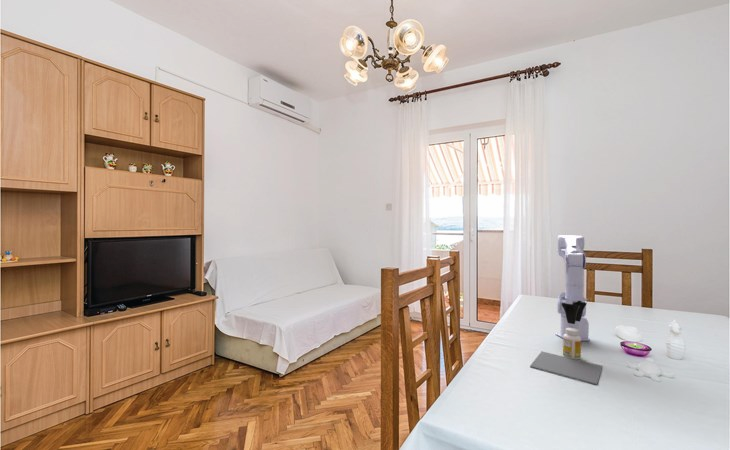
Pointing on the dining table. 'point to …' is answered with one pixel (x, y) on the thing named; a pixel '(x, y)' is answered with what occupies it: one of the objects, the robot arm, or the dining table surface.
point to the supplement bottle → (572, 343)
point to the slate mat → (568, 367)
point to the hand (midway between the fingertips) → (574, 322)
